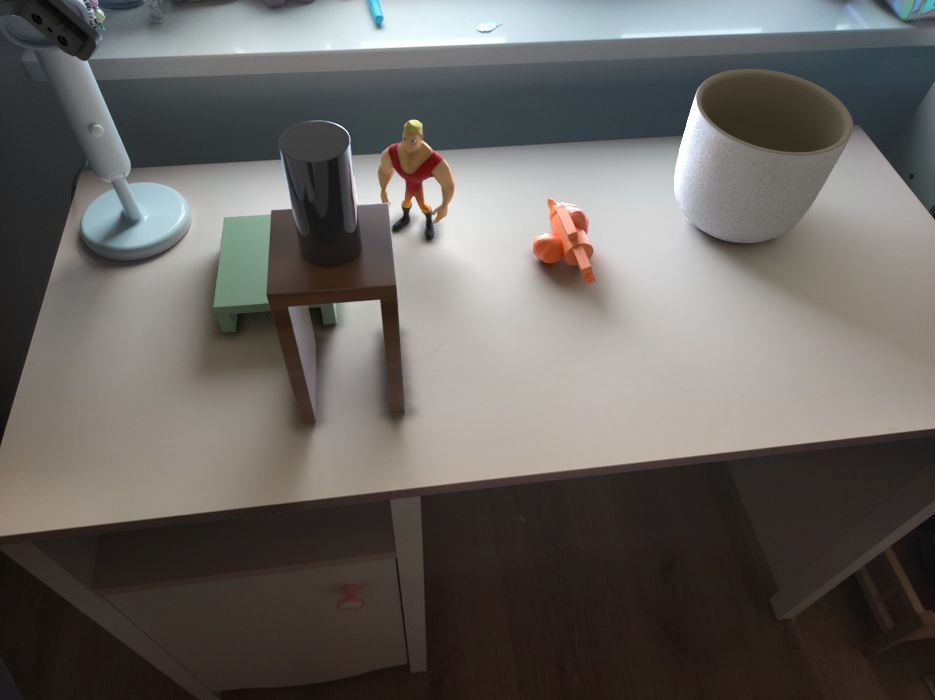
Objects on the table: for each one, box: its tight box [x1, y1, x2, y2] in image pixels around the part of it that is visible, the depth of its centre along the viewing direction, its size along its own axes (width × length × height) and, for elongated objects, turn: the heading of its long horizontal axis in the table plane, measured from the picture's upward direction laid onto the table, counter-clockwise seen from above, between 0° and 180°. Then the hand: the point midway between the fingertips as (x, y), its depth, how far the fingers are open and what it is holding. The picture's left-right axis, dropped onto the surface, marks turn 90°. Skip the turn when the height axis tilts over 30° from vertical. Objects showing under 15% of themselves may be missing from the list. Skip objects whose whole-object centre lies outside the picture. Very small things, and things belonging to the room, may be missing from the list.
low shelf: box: [212, 213, 338, 334], centre depth 78 cm, size 14×12×4 cm
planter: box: [673, 68, 854, 244], centre depth 83 cm, size 17×17×15 cm
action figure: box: [377, 119, 456, 240], centre depth 80 cm, size 10×4×15 cm, turn 70°
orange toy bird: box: [532, 197, 597, 285], centre depth 82 cm, size 5×8×12 cm
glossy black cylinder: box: [278, 120, 362, 267], centre depth 54 cm, size 5×5×10 cm
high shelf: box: [266, 202, 406, 424], centre depth 64 cm, size 10×10×18 cm
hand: (131, 19), depth 46 cm, fingers open, 8 cm apart
